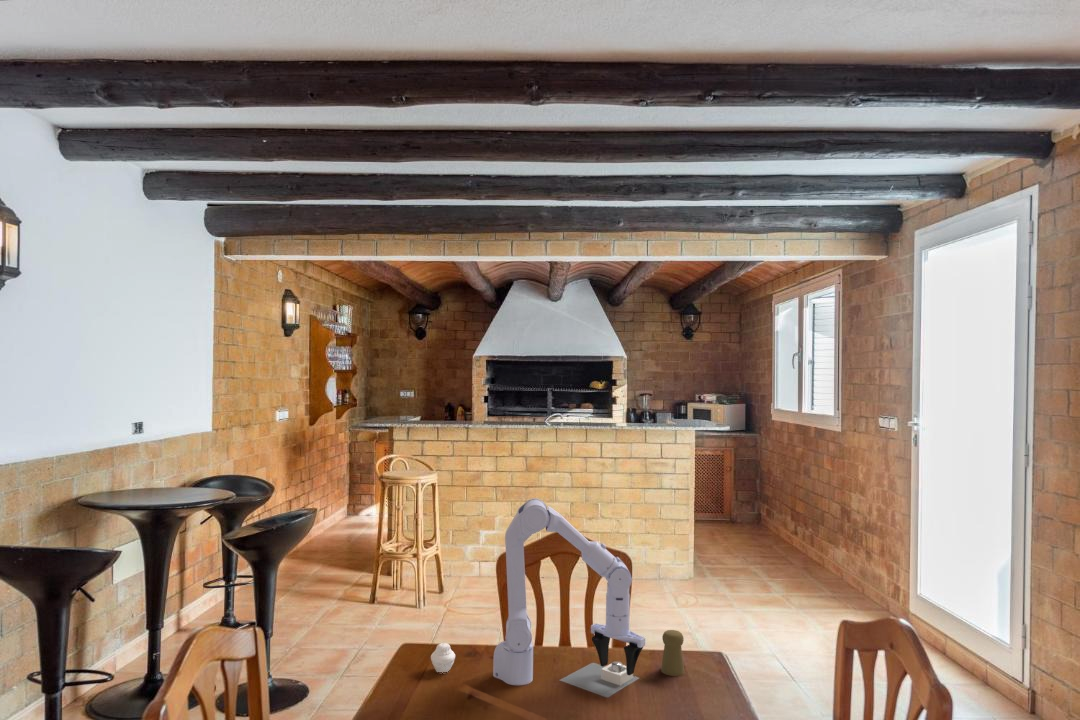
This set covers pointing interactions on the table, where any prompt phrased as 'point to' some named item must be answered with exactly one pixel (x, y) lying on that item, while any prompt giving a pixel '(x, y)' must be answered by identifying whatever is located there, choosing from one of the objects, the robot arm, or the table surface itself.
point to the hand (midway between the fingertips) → (617, 669)
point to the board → (594, 681)
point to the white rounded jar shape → (443, 658)
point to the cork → (672, 653)
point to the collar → (615, 675)
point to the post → (617, 667)
